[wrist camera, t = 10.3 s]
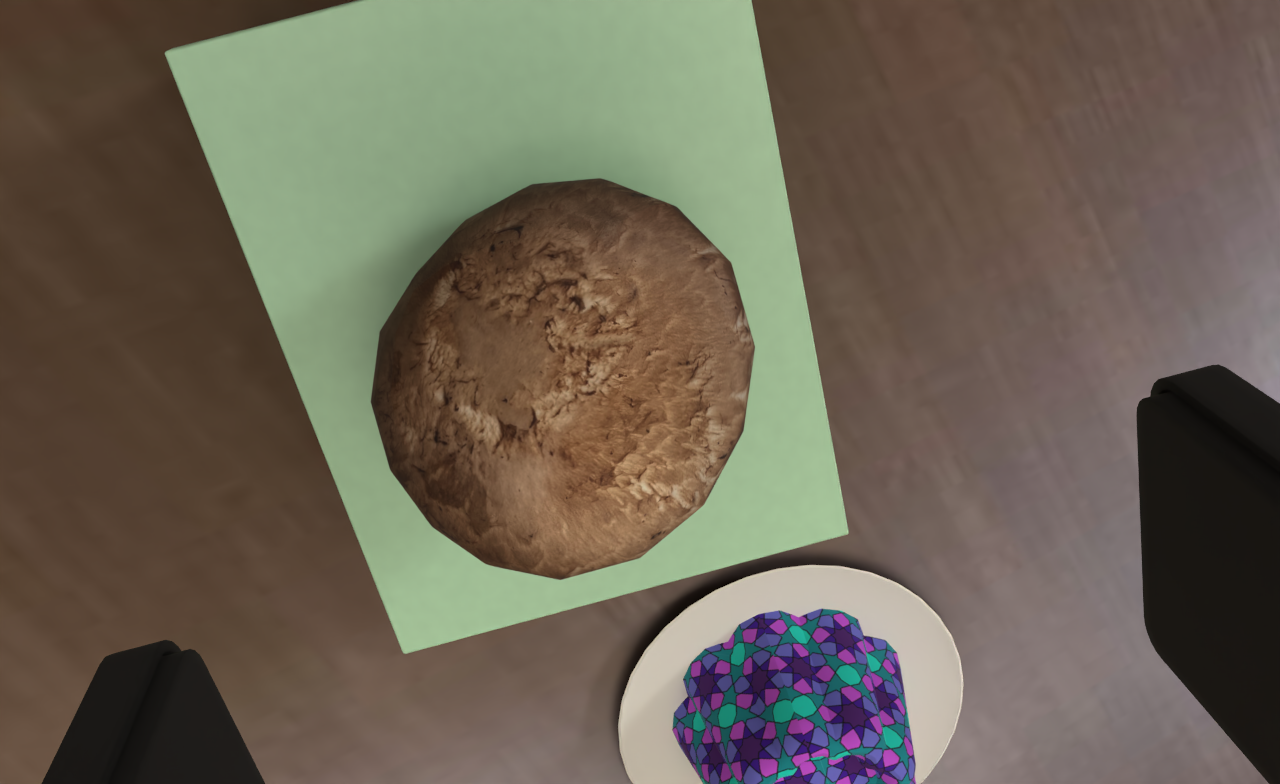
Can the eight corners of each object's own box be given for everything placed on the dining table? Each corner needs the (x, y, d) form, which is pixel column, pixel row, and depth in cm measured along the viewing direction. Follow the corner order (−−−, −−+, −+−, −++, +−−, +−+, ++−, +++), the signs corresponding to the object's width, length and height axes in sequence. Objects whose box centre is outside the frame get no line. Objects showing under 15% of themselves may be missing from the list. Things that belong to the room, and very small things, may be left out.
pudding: (916, 503, 37) (980, 593, 32) (983, 770, 42) (1047, 883, 37) (566, 624, 37) (579, 732, 32) (675, 875, 42) (699, 1001, 37)
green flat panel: (171, 48, 23) (163, 52, 22) (728, -96, 23) (734, -96, 22) (404, 641, 29) (403, 655, 28) (842, 522, 29) (849, 534, 29)
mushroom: (814, 543, 25) (736, 578, 19) (490, 570, 27) (333, 607, 22) (772, 184, 25) (683, 108, 19) (459, 245, 28) (298, 195, 22)
